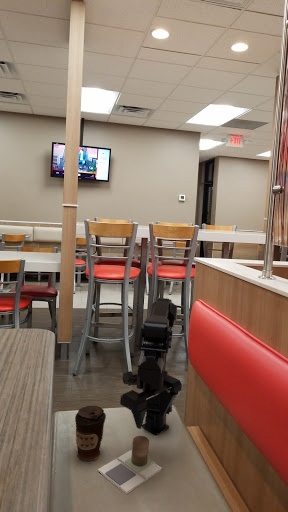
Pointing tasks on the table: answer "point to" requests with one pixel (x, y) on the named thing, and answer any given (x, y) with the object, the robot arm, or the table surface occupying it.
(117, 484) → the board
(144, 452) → the brown tapered cylinder
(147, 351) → the robot arm
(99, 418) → the coffee cup
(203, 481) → the table surface
